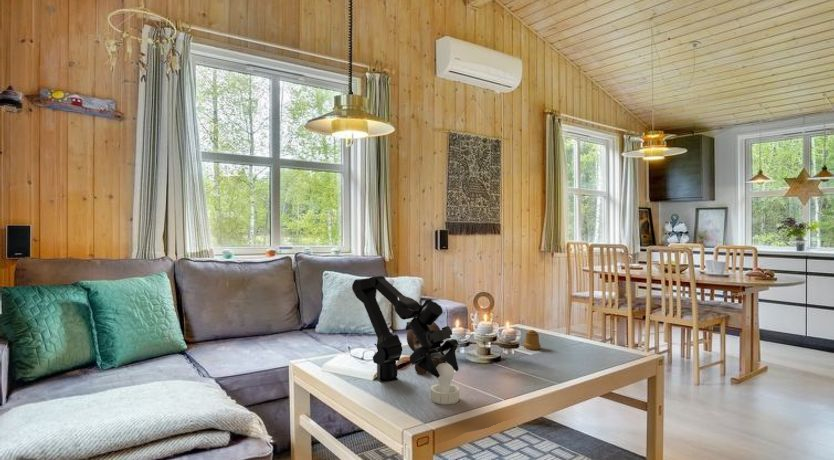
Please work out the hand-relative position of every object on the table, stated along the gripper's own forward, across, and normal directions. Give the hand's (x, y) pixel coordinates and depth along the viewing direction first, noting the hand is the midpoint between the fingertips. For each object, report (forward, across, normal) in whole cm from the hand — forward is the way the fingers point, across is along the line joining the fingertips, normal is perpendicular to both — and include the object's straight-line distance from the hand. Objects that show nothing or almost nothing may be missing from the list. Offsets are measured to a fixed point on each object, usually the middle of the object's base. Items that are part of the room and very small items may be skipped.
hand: (448, 373), depth 154 cm
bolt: (-11, +20, +24) cm, 33 cm away
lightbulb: (+5, 0, +7) cm, 8 cm away
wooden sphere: (-23, +32, +36) cm, 53 cm away
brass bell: (-4, +75, +16) cm, 77 cm away
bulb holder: (+5, 0, +7) cm, 9 cm away
